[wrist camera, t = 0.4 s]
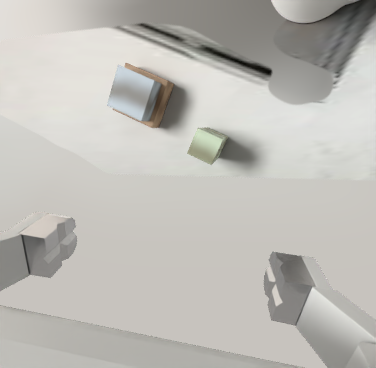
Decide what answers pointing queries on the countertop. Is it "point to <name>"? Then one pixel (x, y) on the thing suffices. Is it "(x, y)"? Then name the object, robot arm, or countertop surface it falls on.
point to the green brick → (207, 145)
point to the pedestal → (140, 95)
